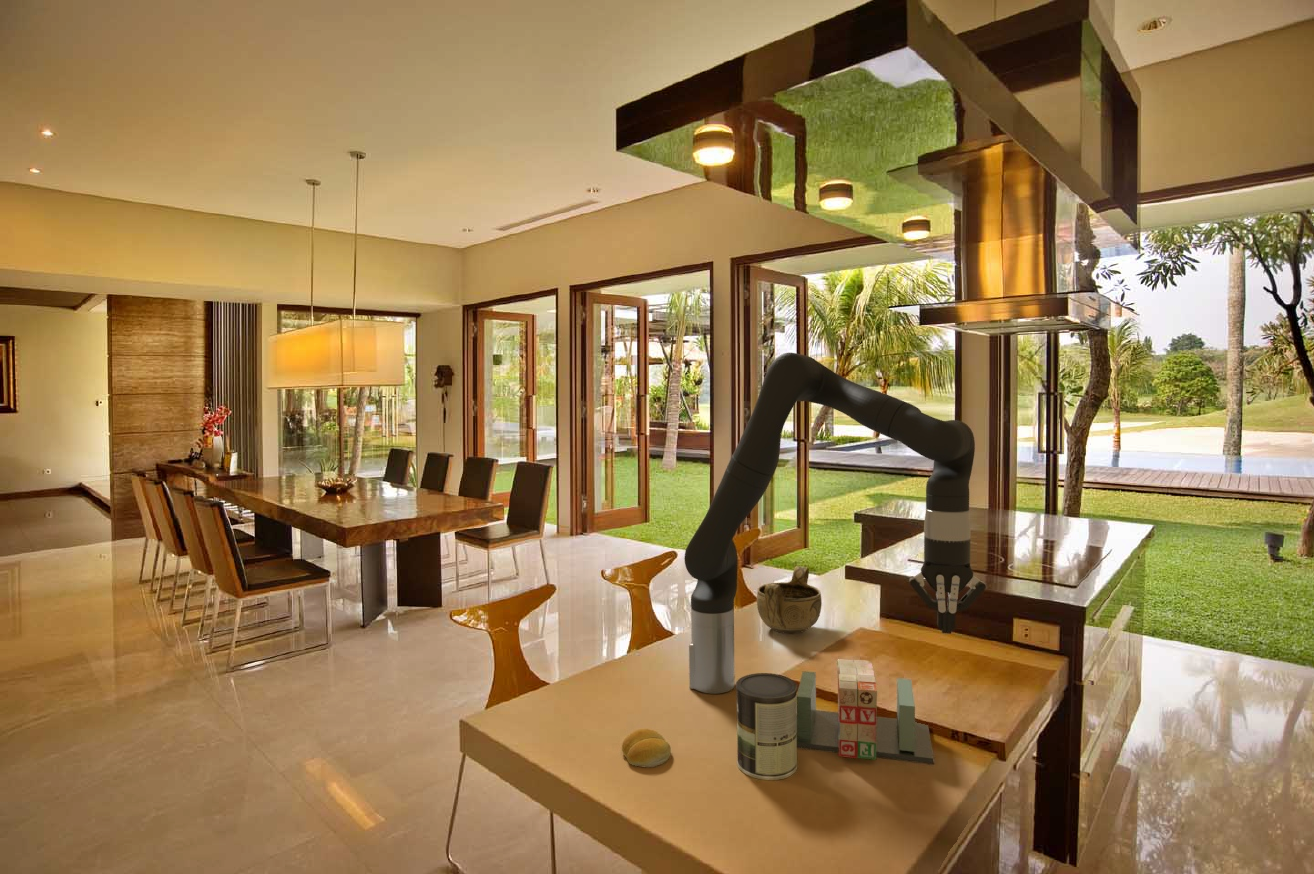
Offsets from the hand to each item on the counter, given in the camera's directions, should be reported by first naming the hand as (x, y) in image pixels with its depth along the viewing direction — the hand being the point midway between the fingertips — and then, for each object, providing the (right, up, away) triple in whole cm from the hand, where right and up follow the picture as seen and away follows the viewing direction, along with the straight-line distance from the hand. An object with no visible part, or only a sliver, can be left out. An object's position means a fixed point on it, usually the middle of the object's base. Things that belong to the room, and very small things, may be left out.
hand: (946, 632), depth 127 cm
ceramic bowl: (-16, -17, +64) cm, 69 cm away
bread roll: (-53, -22, 0) cm, 57 cm away
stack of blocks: (-14, -20, +6) cm, 25 cm away
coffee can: (-32, -22, -4) cm, 39 cm away
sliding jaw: (-6, -19, +3) cm, 21 cm away
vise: (-14, -21, +5) cm, 25 cm away
